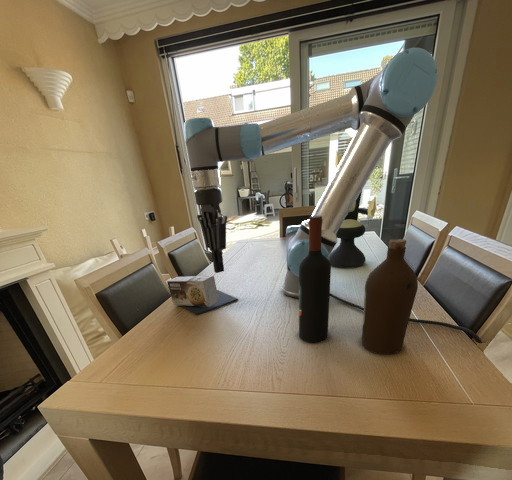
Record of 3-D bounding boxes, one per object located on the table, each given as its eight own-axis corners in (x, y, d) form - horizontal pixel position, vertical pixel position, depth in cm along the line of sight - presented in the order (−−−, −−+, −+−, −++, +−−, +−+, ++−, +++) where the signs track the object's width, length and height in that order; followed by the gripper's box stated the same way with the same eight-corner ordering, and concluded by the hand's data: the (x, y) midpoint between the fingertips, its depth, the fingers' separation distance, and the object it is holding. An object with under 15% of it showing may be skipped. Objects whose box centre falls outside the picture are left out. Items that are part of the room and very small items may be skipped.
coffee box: (214, 275, 97) (178, 275, 105) (203, 281, 93) (165, 280, 100) (219, 300, 102) (184, 299, 109) (209, 307, 97) (172, 305, 104)
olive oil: (410, 341, 72) (433, 236, 59) (396, 361, 65) (418, 248, 53) (368, 330, 78) (381, 233, 66) (351, 347, 72) (361, 244, 59)
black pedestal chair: (324, 270, 126) (328, 146, 104) (322, 256, 145) (326, 149, 122) (369, 268, 123) (384, 140, 100) (362, 255, 141) (373, 144, 119)
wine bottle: (310, 346, 74) (312, 220, 59) (293, 334, 80) (291, 217, 65) (333, 337, 77) (341, 215, 62) (315, 326, 83) (318, 212, 68)
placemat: (237, 299, 105) (237, 298, 105) (196, 315, 96) (196, 314, 96) (217, 291, 115) (217, 289, 114) (178, 304, 106) (177, 303, 106)
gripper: (184, 190, 83) (199, 270, 95) (208, 189, 74) (220, 278, 86) (206, 187, 87) (218, 265, 99) (231, 186, 78) (241, 272, 90)
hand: (219, 271), depth 92 cm, fingers closed
